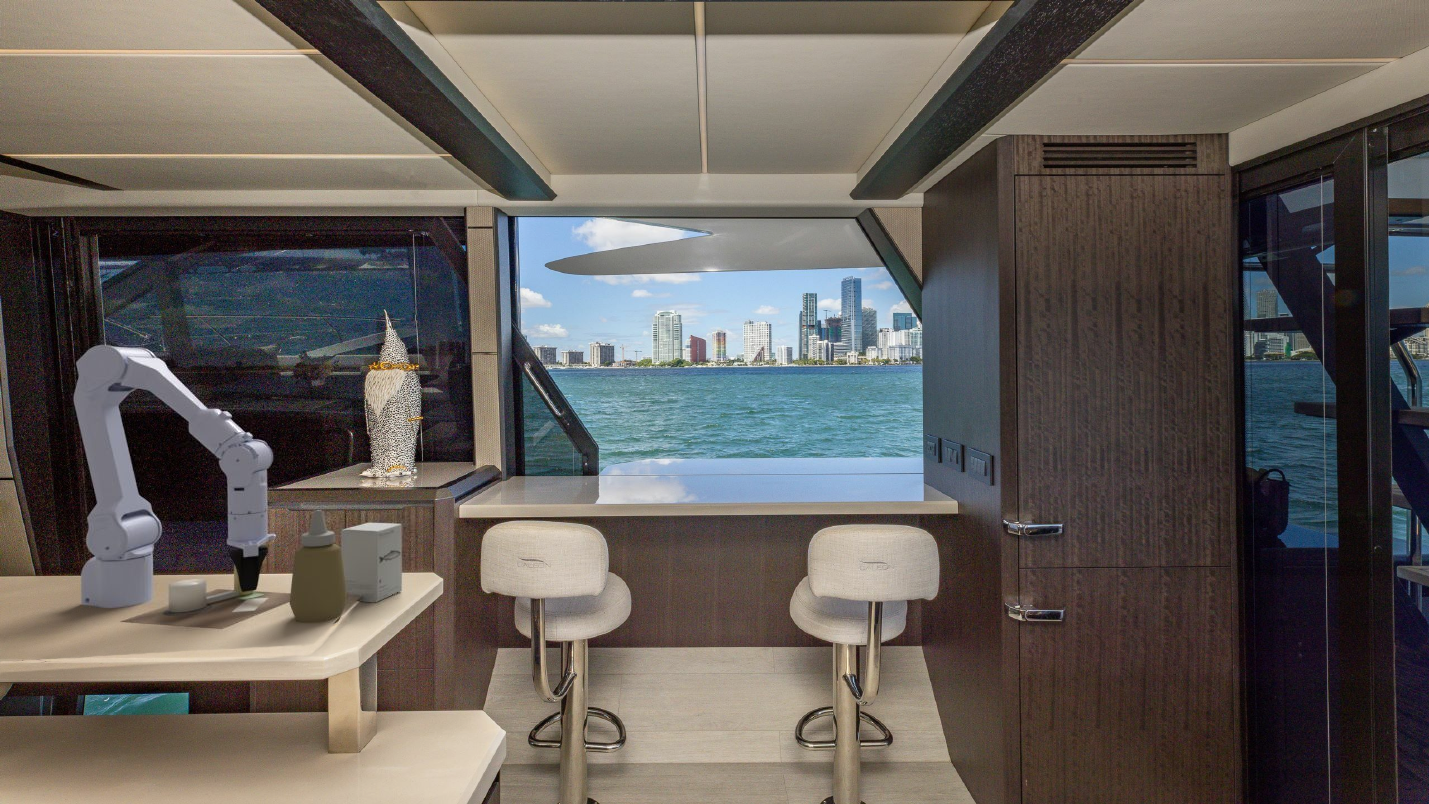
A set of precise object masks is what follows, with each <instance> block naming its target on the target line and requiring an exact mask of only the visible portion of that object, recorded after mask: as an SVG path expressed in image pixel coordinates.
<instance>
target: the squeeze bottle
mask: <svg viewBox="0 0 1429 804" xmlns="http://www.w3.org/2000/svg"><path fill="white" fill-rule="evenodd" d="M335 534H336V533H335V532H334V531H333V530H328V528H327V524H326V520H325V516H324V513H323V510H321V509H317V510H316V509H315V510H313V513H312V517H311V522H310V527H309V530H308V532H305V533H302V534H301V537H300V538H301V539H300V541H301V543H300V544H301V546H300V548H298V549H297V550H296V551H294V556H293V557H294V558H293V568H292V576H291V577H292V578H291V586H290V593H291V594H290V602H288V603H289V605H290V608H291V611H292V614H293V616H294V618H295V619H294V620H296V622H299V623H309V624H311V623H321V622H326V621H327V622H328V621H330V620H333V619H336V618H337V620H336V621H334V623H333V625H334V624H336V623H338V622H339V621H340V619H341V615H342V614H343V611H344V608H345V606H346V605H345V604H346V602H347V600H348V594H347V591H346V583H345V575H344V566H343V558H342V550H341V546H340V545H338V544H336V543H335V542H336V535H335Z"/></svg>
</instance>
